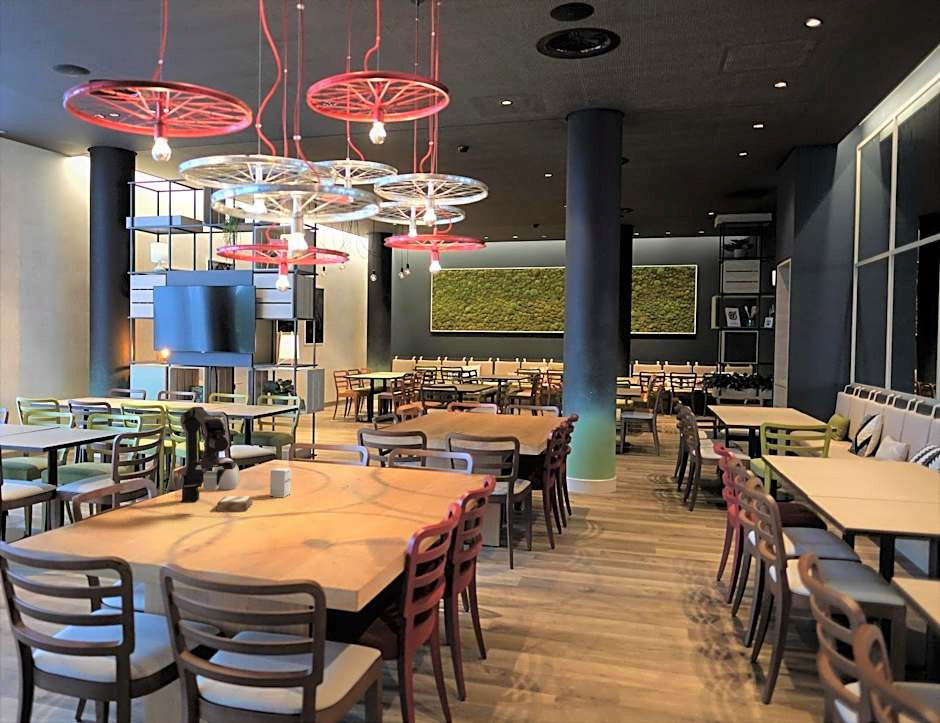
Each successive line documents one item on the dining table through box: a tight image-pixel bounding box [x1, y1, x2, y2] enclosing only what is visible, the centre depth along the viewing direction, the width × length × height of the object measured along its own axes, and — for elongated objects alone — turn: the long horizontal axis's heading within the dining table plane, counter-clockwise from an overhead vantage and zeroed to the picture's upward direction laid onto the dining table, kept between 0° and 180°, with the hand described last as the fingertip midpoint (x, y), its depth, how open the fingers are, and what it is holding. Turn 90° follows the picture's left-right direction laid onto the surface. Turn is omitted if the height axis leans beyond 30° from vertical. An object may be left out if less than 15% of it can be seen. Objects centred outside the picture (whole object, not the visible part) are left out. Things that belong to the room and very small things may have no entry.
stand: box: [216, 495, 253, 512], centre depth 305 cm, size 12×12×4 cm
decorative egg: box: [214, 457, 241, 491], centre depth 345 cm, size 12×12×15 cm
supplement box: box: [269, 467, 292, 498], centre depth 331 cm, size 7×7×13 cm
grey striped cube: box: [202, 470, 219, 491], centre depth 297 cm, size 5×5×7 cm
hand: (211, 485), depth 297 cm, fingers closed on grey striped cube, 5 cm apart
